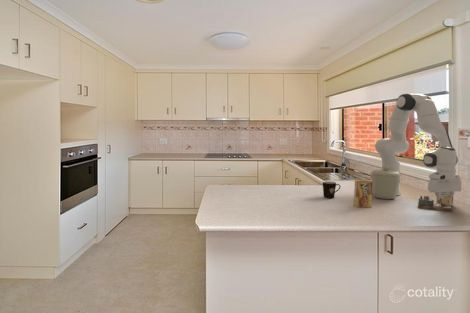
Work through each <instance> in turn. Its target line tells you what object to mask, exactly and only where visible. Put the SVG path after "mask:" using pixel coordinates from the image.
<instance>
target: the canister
mask: <svg viewBox="0 0 470 313" xmlns="http://www.w3.org/2000/svg"><path fill="white" fill-rule="evenodd" d="M370 174H371V181H372V182H373V184H372V188H373V194H372V196H374V197H375V198H377V199H381V200H394V199H396V198H397V196H398V195H397V190H398V185H399V186H400V182H399V179H400V180H401V176H402V174H401V172H400V173H399V172H397V171H391V170H389V167H388V166H384V167H383V170H382V169H375V170H372V171H371V172H370Z"/></svg>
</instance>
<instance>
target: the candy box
mask: <svg viewBox="0 0 470 313" xmlns="http://www.w3.org/2000/svg"><path fill="white" fill-rule="evenodd" d="M372 184H373V182H372V179H371V180H370V179H367V180H365V179H364V180H362V179H355V180H354V196H353V206H354V207H356V208H372V201H373V200H372V198H373V194H372Z"/></svg>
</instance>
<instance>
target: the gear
mask: <svg viewBox="0 0 470 313" xmlns="http://www.w3.org/2000/svg"><path fill="white" fill-rule="evenodd" d="M418 202H419V204H421V205H425V206H432V205H433V204H435V201H434V199H432V198H429V200H424V197H423V195H420V197H419V198H418Z"/></svg>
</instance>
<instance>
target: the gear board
mask: <svg viewBox="0 0 470 313" xmlns="http://www.w3.org/2000/svg"><path fill="white" fill-rule="evenodd" d="M423 198H424V200H429V199H430V195H423ZM441 198H444V197H441ZM417 208H418V209H425V210H431V211H432V210H433V211H440V212H450V213H453V208H452V205H451V206H450V205H446V204H442V203H441V204H438V203H434V204H433V205H432V206H425V205H421V204H419V201H417Z"/></svg>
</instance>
